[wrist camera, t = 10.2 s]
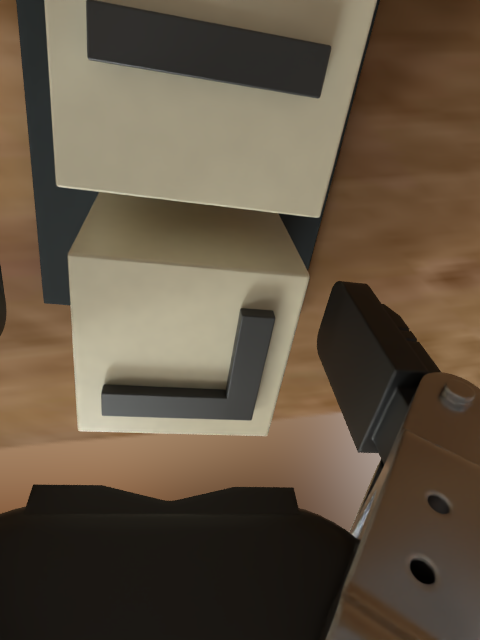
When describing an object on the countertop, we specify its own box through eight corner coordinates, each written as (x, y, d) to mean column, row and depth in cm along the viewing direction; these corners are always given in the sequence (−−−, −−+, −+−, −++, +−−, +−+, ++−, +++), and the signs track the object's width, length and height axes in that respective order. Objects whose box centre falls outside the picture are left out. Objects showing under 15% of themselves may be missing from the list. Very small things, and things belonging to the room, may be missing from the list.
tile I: (96, -116, 9) (20, -241, 5) (319, -64, 9) (421, -131, 5) (99, 132, 11) (50, 192, 7) (276, 157, 12) (325, 225, 8)
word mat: (-37, -665, 6) (-50, -705, 6) (490, -442, 7) (504, -465, 7) (46, 297, 14) (43, 303, 14) (292, 316, 15) (294, 322, 15)
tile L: (104, 179, 12) (62, 260, 8) (272, 199, 13) (315, 282, 8) (105, 323, 14) (74, 442, 10) (246, 332, 15) (270, 446, 11)
